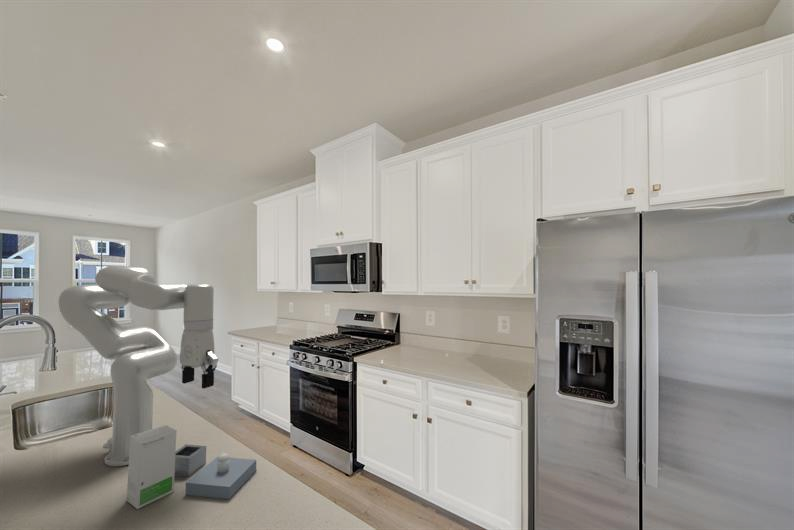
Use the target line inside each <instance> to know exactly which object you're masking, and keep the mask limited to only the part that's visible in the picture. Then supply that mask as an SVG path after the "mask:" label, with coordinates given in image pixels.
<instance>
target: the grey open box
mask: <svg viewBox="0 0 794 530" xmlns="http://www.w3.org/2000/svg"><path fill="white" fill-rule="evenodd" d="M206 463H207V446H206V445H197V444H188V443H187V444H184V445H183V446H182V447H180V448H179V449H177V450H176V452H175V474H174V477H186V478H190V477H191V476H192V475H193V474H194V473H197V471H198V470H199V469H200V468H202V467H203V466H205V464H206Z"/></svg>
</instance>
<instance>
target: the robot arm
mask: <svg viewBox="0 0 794 530" xmlns="http://www.w3.org/2000/svg"><path fill="white" fill-rule="evenodd" d="M94 281H95V283H93V284H91V283H89V284H87V283H85V284H78V285H73V286H70V287H67V288H66V289H64V290H63V291H62V292H60V295H59V296H58V297H59V298H58V308H59V312H60V314H61V316H62V318H63V320H65V322H67V324H69V325H70V326H71V327H72V328H74V329H75V330H76V331H77V332H78V333H80V334H81V335H82V336H83V337H84V338H85V339H86V340H87V342H88V343H89V344H90V345H91V346H92V347H93V349H94V350H95V351H96V352H97V353H98V354H99V355H100V356H101V358H104V359H105V360H109V361H113V360H114V361H113V362H112V363H111V366H110V376H111V381H112V388H113V389H112V390H113V414H112V415H113V416H112V417H113V418H112V437H110V438H109V439H108V440H107V441H106V443H104V444H103V445H102V449H106V450H107V449H108V451H109V452H108V453H107V454H106V455H105V457H104V464H105V465H106V466H108V467H123V466H129V450H130V436H132V435H135V434H138V433H142V432H145V431H147V430H150V429H153V415H154V411H153V410H154V392H153V389H152V388H151V387H150V385H149V384H148V383H147V380H151V379H153V378H157V377H160V376H162V375H165V374H168V373H170V372H171V371H173V370H174V369H175V367H176V366H177V364H178V356H177V353H176V352H175V350H174V349H173V347H172V346H171V345H170V344H169V343H168V342H167V340H165V339H164V337H162V336H161V335H160V333H159V332H157V331H156V330H155V329H154V328H152V327H150V326H148V325H136V326H127V327H125V326H122V325H120V324H119V323H118V322H117V321H116V320H115V319H114V318H113V317H112V316H110V315H109V314H106V313H105V312H102V311H99V310H108V309H110V310H111V309H118V308H121V307H124V306H126V305H128V304H130V303H131V304H132V305H134V306H136V307H138V308H142V309H146V310H150V311H166V310H167V311H168V310H175V309H177V310H179V309H183V325H182V326H183V328H182V329H183V331H182V335H181V341H180V351H179V362H180V364H181V367H180V369H181V370H182V371H181V372H182V374H181V376H182V377H181V383H182V384H188V383H192V382H194V381H195V368H196V369H197V368H201V371H202V374H201V389H206V388H207V389H208V388H210V387H213V386H214V384H215V372H216V369H217V367H218V366H217V365H218V361H219V358H218V356H216V355H215V338H214V332H213V331H214V296H215V295H214V286H213V285H212V284H207V283H203V284H202V283H200V284H199V283H197V284H196V283H195V284H193V283H156V280H155V277H154V276H153V275H152V274H151V272H150V271H149V270H148V269H147V268H145V267H142V266H133V265H131V266H129V265H128V266H127V265H125V266H124V265H112V266H107V267H103V268H101V269H99V270H98V272H96V274H95V280H94Z"/></svg>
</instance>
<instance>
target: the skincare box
mask: <svg viewBox="0 0 794 530" xmlns="http://www.w3.org/2000/svg"><path fill="white" fill-rule="evenodd" d="M176 446H177V430H176V429H174V428H173V427H170V426H169V425H162V426H159V427H156V428H152V429H150V430H147V431H145V432H142V433H138V434H135V435H132V436H130V450H129V465H128V468H127V486H126V501H127V502H128V503H129V504H131V506H133V507H134V508H135V509H136V510H139V509H141V508H143V507H145V506H147V505H150V504H152V503H153V502H155V501H157V500H159V499H162V498H164V497H166V496H168V495H170V494H172V493H173V492H175V476H174V474H175V452H176V451H177V450H176V449H177V447H176Z"/></svg>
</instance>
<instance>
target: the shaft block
mask: <svg viewBox="0 0 794 530" xmlns="http://www.w3.org/2000/svg"><path fill="white" fill-rule="evenodd" d="M256 471H257V459H252V458H251V459H250V458H238V457H230V455H229V453H226V452H224V453H221V454H220V455H219V456H217V457H216V458H214V459H213V460H212V461H210V462H209V463H208V464H207V465H205V467H203V468H202V469H201V470H199V471H198V472H196V474H195V475H194V476H192V477H191V478H189V480H187V481H186V482H185V496H192V497H193V496H194V497H203V498H205V497H206V498H213V499H214V498H215V499H223V500H224V499H225V500H230V499H231V498H232V497H233V496H234V495H235V494H236V493H237V492H238V491H239V490H240V489H241V487H242V486H244V484H246V483H247V481H248V480H249V479H250V478H251V477H252V476H253V475H254V474H255V472H256Z"/></svg>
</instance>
